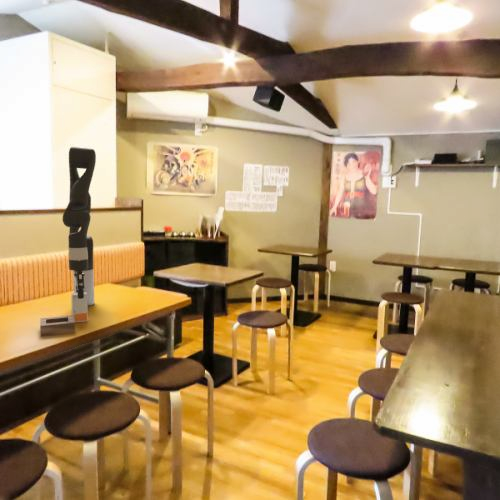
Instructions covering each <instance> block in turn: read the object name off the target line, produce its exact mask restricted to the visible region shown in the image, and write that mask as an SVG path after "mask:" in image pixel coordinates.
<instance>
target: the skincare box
mask: <svg viewBox="0 0 500 500" xmlns="http://www.w3.org/2000/svg"><path fill="white" fill-rule="evenodd" d="M70 295H71V296H70V297H71V298H70V299H71V315H73V318H74V322H75V323H84V322H89V316H88V314H89V312H88V308H89V307H88V304H87V293H86V292H84V298H83V299H78V293H74V292H71V294H70Z"/></svg>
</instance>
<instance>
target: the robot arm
mask: <svg viewBox="0 0 500 500" xmlns="http://www.w3.org/2000/svg"><path fill="white" fill-rule="evenodd" d="M96 155H97V154H96V151H95V149H94V148H91V147H90V148H89V147H80V146H71V147H70V148H69V150H68V168H69V201H68V204H67V206H66V207H65V210H64V211H63V215H62V223H63V224H64V226H65V227H67V228H69V231H68V232H69V233H68V238H67V239H68V269H69V270H70V271H72V280H73V293H78V299H83V298H84V292H86V293H87V304H88V306H89V307H90V306H92V305H95V281H94V280H95V279H94V275H95V274H94V239H93V238H92V236H91V235H88V230H89V226H90V223H91V211H92V208H91V207H92V197H91V194H90V187H91V182H92V180H93V176H94V172H95V167H96V162H97V161H96V159H97V157H96ZM78 169H83V170H85V171H84V173H82V175H81V176H80V175H79V172H78Z"/></svg>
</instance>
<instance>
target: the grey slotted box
mask: <svg viewBox="0 0 500 500" xmlns="http://www.w3.org/2000/svg"><path fill="white" fill-rule="evenodd" d="M75 323H76V322H74V318H73V315H72V314H71V315H63V316H62V315H61V316H50V317H43V318H40V321H39V327H40V328H39V329H40V337H47V336H56V335H65V334H75V333H76V328H75V327H76V326H75V325H76V324H75Z"/></svg>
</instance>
